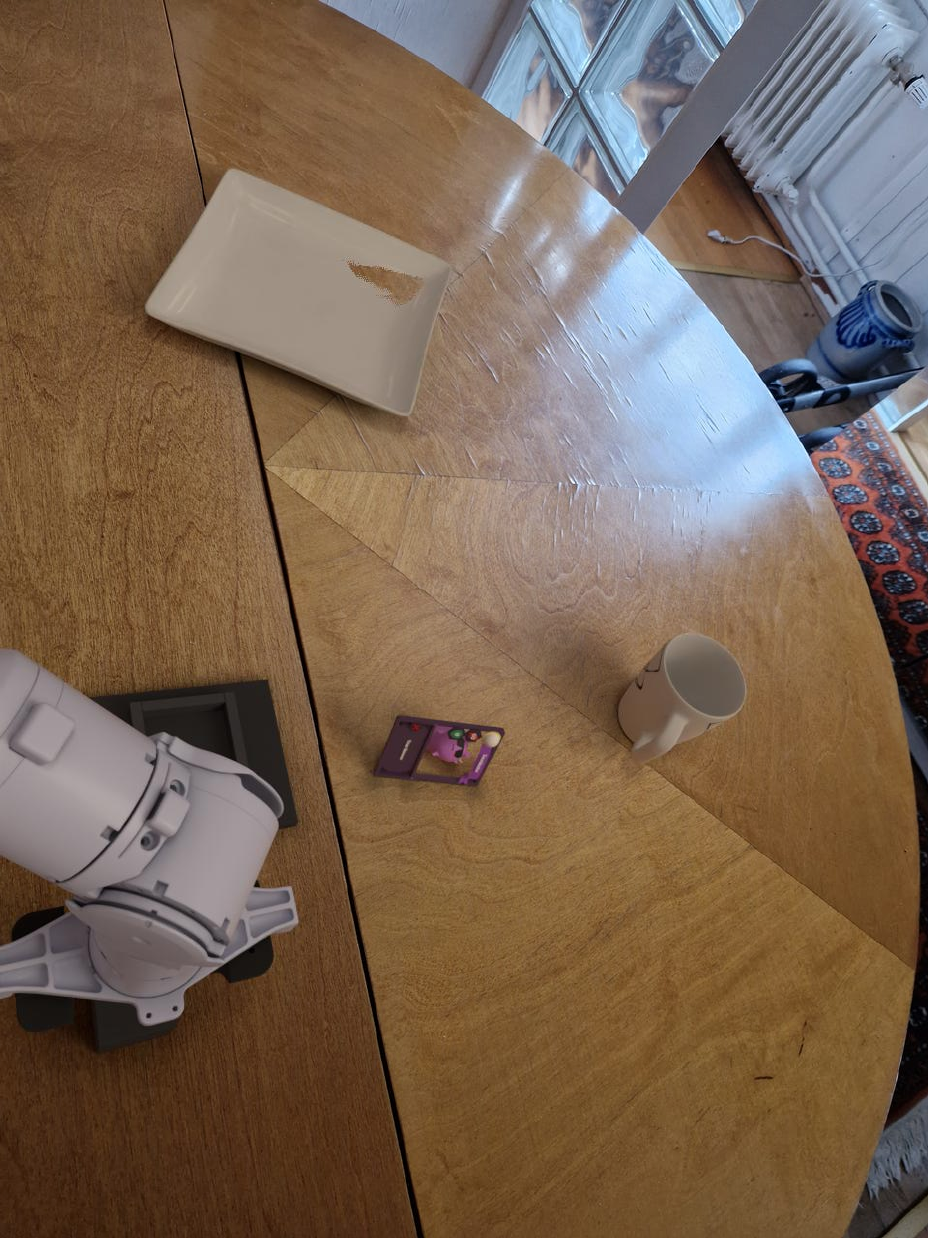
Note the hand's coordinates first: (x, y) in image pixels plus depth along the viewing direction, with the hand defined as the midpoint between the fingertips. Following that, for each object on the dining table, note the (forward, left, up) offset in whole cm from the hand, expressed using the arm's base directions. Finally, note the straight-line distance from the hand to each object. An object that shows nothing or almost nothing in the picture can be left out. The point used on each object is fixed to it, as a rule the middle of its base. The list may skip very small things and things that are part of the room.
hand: (138, 970), depth 51 cm
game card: (+25, +13, -9) cm, 29 cm away
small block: (0, 0, -8) cm, 8 cm away
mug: (+47, +12, -9) cm, 49 cm away
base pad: (+6, +15, -8) cm, 18 cm away
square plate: (+26, +65, -9) cm, 71 cm away
